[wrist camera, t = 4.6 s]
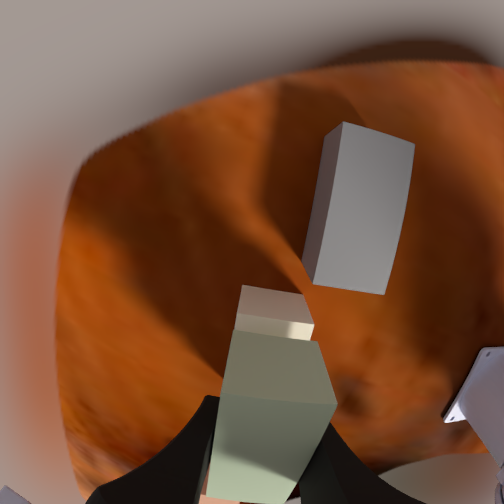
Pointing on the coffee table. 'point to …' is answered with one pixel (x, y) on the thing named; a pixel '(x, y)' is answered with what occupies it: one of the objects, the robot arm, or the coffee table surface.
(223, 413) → the brick sage
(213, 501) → the brick terracotta
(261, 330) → the brick cream
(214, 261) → the coffee table surface
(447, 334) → the coffee table surface
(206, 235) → the coffee table surface
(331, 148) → the brick charcoal
